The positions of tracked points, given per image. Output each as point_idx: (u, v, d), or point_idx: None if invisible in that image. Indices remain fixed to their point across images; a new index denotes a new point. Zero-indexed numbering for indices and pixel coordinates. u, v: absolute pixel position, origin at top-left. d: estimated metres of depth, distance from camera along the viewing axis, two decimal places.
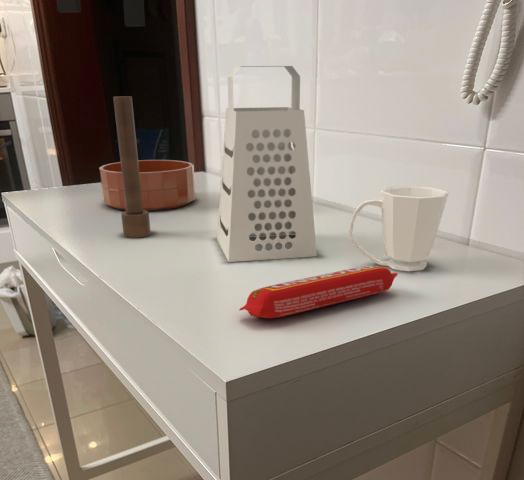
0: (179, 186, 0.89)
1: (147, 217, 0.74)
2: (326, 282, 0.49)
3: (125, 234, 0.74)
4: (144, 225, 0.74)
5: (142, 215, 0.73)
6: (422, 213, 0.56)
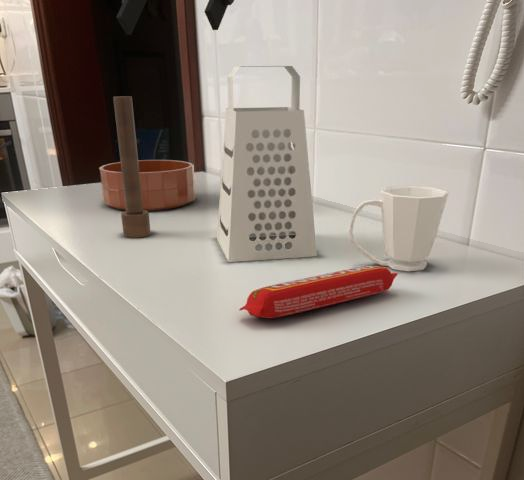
0: (179, 186, 0.89)
1: (147, 217, 0.74)
2: (326, 282, 0.49)
3: (125, 234, 0.74)
4: (144, 225, 0.74)
5: (142, 215, 0.73)
6: (422, 213, 0.56)
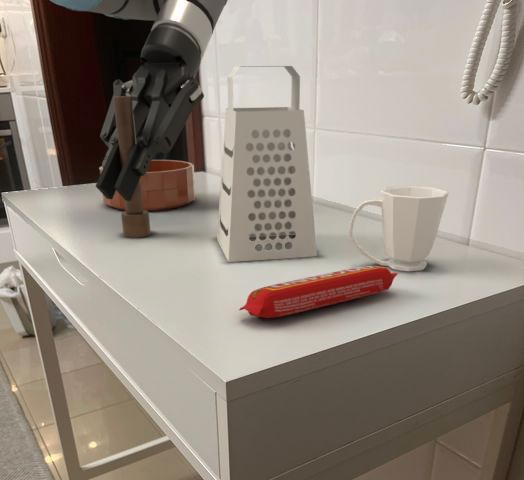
0: (179, 186, 0.89)
1: (147, 217, 0.74)
2: (325, 281, 0.49)
3: (125, 234, 0.74)
4: (144, 225, 0.74)
5: (142, 215, 0.73)
6: (422, 213, 0.56)
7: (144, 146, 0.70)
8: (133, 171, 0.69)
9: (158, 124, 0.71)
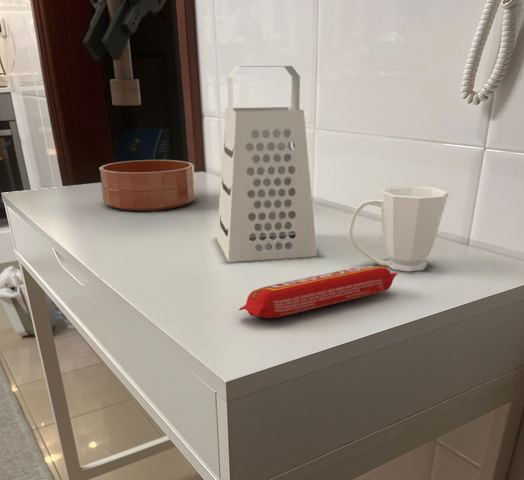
0: (179, 186, 0.89)
1: (137, 84, 0.72)
2: (325, 281, 0.49)
3: (114, 102, 0.72)
4: (133, 92, 0.71)
5: (131, 80, 0.71)
6: (422, 213, 0.56)
7: (133, 2, 0.67)
8: (122, 28, 0.67)
9: None
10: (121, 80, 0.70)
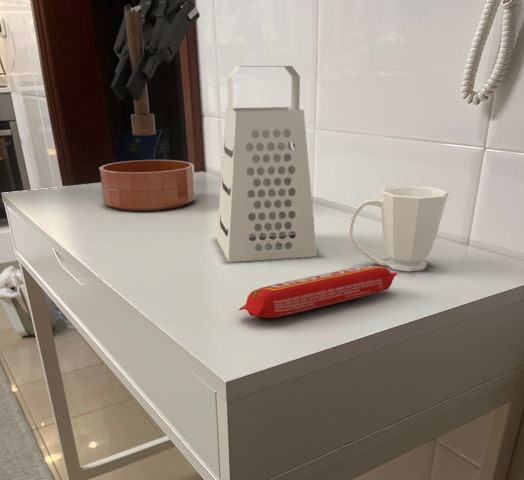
0: (179, 186, 0.89)
1: (152, 118, 0.88)
2: (325, 281, 0.49)
3: (134, 133, 0.89)
4: (150, 125, 0.88)
5: (148, 115, 0.87)
6: (422, 213, 0.56)
7: (150, 54, 0.84)
8: (141, 75, 0.84)
9: (162, 38, 0.86)
10: (140, 115, 0.87)
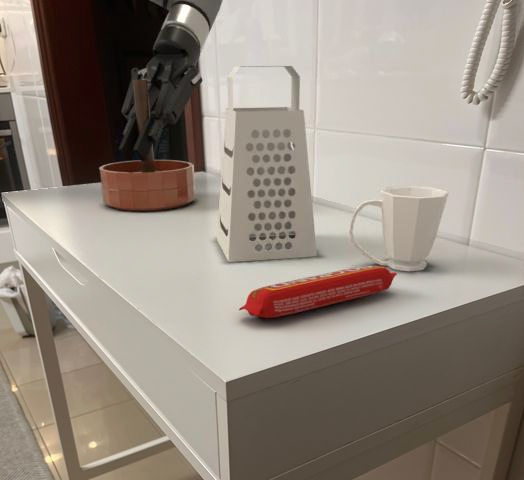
0: (179, 186, 0.89)
1: None
2: (325, 281, 0.49)
3: None
4: None
5: None
6: (422, 213, 0.56)
7: (156, 118, 0.90)
8: (147, 137, 0.90)
9: (167, 102, 0.92)
10: None
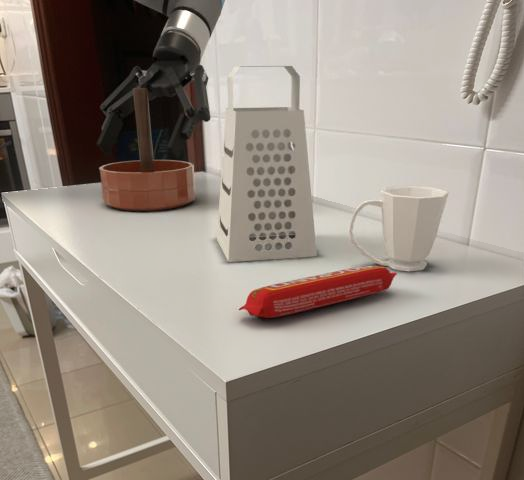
0: (179, 186, 0.89)
1: None
2: (325, 281, 0.49)
3: None
4: None
5: None
6: (422, 213, 0.56)
7: (191, 114, 0.87)
8: (181, 135, 0.87)
9: None
10: None
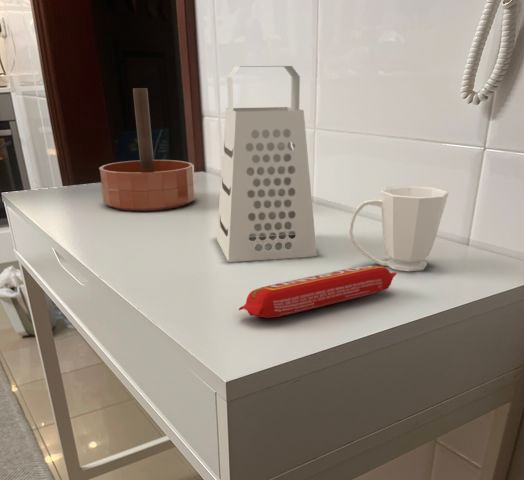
0: (179, 186, 0.89)
1: None
2: (325, 281, 0.49)
3: None
4: None
5: None
6: (422, 213, 0.56)
7: None
8: None
9: None
10: None
